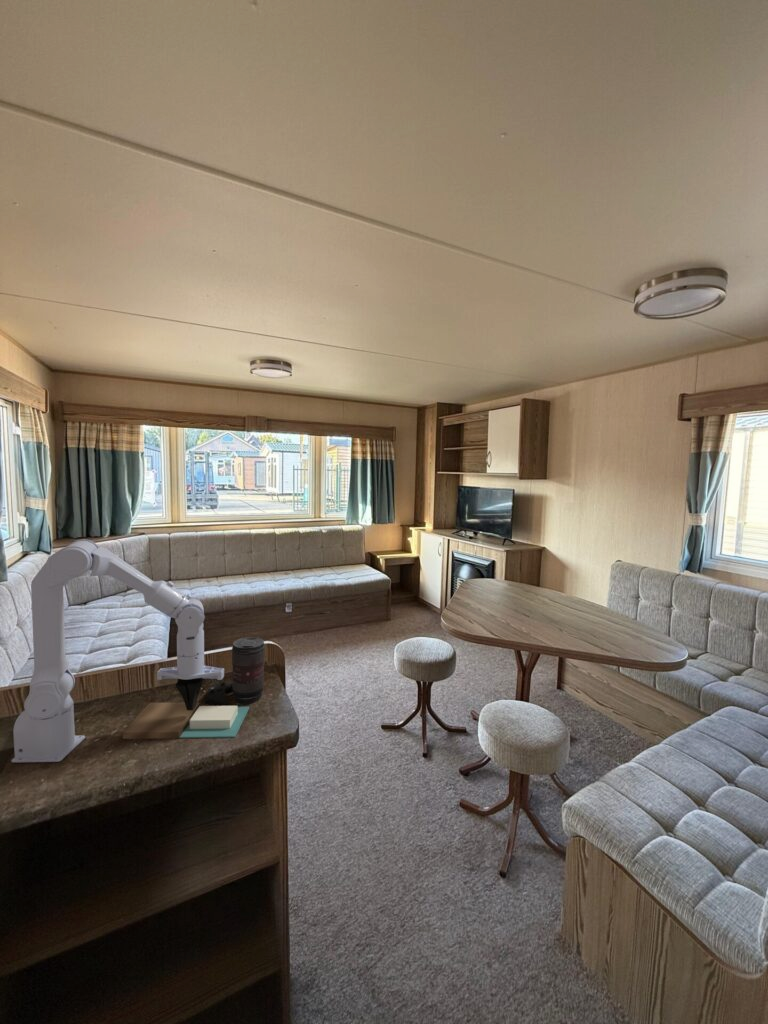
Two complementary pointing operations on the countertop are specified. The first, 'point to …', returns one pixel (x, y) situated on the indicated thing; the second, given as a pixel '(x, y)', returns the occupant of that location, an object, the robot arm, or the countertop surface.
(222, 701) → the game controller
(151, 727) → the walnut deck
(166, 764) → the countertop surface
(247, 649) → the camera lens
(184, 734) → the teal mat
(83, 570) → the robot arm
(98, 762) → the countertop surface
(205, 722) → the cream tile
